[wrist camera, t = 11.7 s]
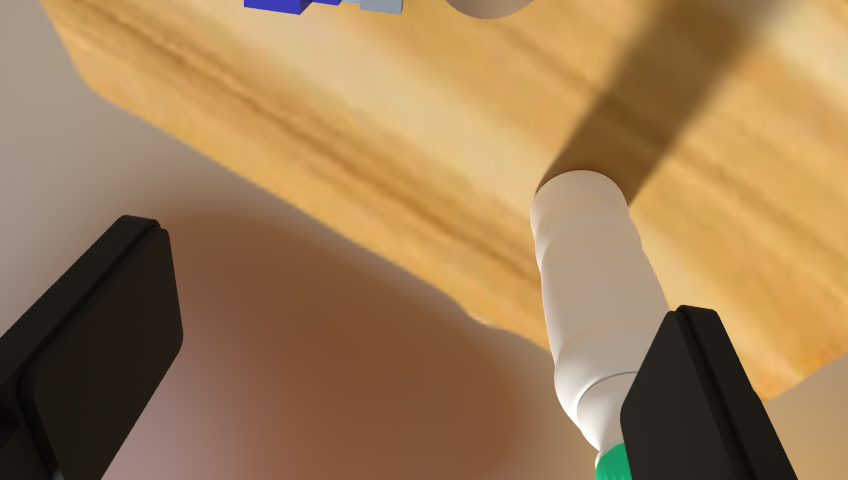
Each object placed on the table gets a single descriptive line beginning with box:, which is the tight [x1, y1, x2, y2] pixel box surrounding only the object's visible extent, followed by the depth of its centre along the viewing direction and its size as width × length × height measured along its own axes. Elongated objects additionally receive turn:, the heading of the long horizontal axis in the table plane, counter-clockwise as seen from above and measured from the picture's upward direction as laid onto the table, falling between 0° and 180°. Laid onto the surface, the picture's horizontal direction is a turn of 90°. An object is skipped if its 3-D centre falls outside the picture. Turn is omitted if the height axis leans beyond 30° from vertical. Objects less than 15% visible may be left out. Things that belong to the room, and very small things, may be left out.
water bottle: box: [530, 170, 670, 480], centre depth 35 cm, size 7×7×25 cm
